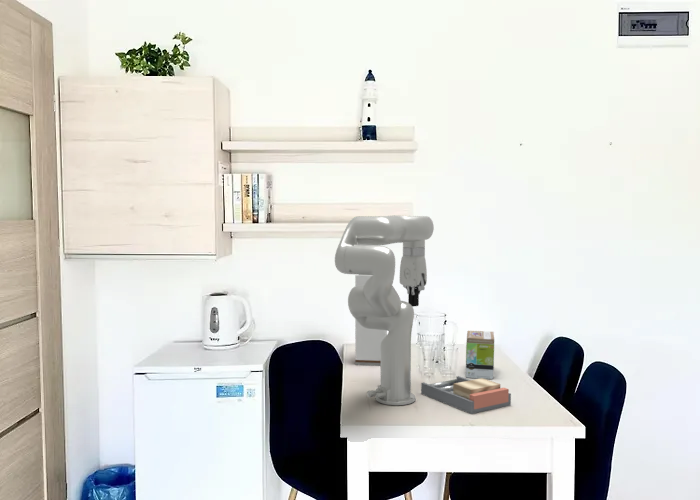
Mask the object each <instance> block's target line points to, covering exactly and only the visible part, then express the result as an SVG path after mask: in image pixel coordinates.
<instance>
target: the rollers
mask: <svg viewBox="0 0 700 500" xmlns="http://www.w3.org/2000/svg"><path fill="white" fill-rule="evenodd" d="M454 383H458V381H457V380H456V379H449V380H444V381H439V382H435V383H434V382H433V383H428V384H429V385H432V386H435V387H437V388H440V389H442V390H445V391H448V392H450V393H453V384H454ZM453 394H454V393H453ZM456 395H457V394H456ZM458 396H460V395H458ZM461 397H462V396H461ZM464 398H465V397H464ZM466 399H468V398H466ZM469 400H470V399H469Z"/></svg>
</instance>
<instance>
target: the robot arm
mask: <svg viewBox="0 0 700 500" xmlns="http://www.w3.org/2000/svg"><path fill="white" fill-rule="evenodd" d="M434 230H435V229H434V221H433V220H432V218H431V217H430V216H427V215H426V216H425V215H408V216H407V215H385V216H384V215H383V216H382V215H380V216H376V215H375V216H369V215H368V216H367V215H366V216H355V217H353V218H351V220H349V222H348V224H347V225H346V227H345V229H344V231H343V233H342V236H341V238H340V240H339V244H338V246H337V248H336V251H335V255H334V266H335V268H336V270H337V271H338V272H340V273H342V274H344V275H373V276H371V277H370V278H369V279H368V281H367V282H366V283H365V285H358V286H354V287H352V288H351V289H350V291H349V293H348V297H347V306H348V309H349V313H350V314H351V315H352V317H353V318H354V320H355V319H356V320H357V321H358V322H359V324H360V325H361V326H363V327H364V328H367V329H378V330H387V331H388V332H387V335H386V337H385V338H384V339H383V340H382V343H381V366H380V385H377V388H376V389H374V390H367V393H366V396H367V397H368V398H372V397H375V400H376V401H377V402H378V403H380V404H383V405H387V406H405V405H410V404H412V403H414V402H416V395H415V394H414V393H412V391H411V390H412V389H411V387H412V386H411V385H412V383H411V382H412V381H411V380H412V379H411V377H412V374H411V371H412V370H411V369H412V368H411V366H412V365H411V363H412V331H413V323H414V319H415V318H414V317H415V311H414V310H415V309H414V307H419V303H420V301H419V300H420V298H419V297H420V296H419V295H420V294H421V292H422V291H425V286H426V285H427V279H428V276H427V273H428V272H427V262H426V240H429V239H430V238H431V237H432V235H433V232H434ZM399 243H400V244H401V243H402V256H401V258H400V259H401V261H400V266H399V284H400V285H402V287H403V288H405V289H406V293H407V295H408V297H407V299H408V302H407V301H404V300H401V298H400V295H399V293H398V292H397V291H396V289H395V287H394V286H393V283H394V279H395V275H396V274H395V273H396V257H395V253H394V252H393V250H392V249H390V248H389V247H388V245H392V244H399Z"/></svg>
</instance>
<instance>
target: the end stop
mask: <svg viewBox="0 0 700 500" xmlns="http://www.w3.org/2000/svg"><path fill="white" fill-rule="evenodd" d="M509 390H510V389H509V388H506V387H500V388H499V389H494V390H489V391H484V392H479V393H474V394H470V400H472V401H474V409H479V408H483V407H488V406H492V405H497V404H501V403H506V402H508V396H509V393H510V392H509Z"/></svg>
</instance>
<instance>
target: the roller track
mask: <svg viewBox="0 0 700 500" xmlns="http://www.w3.org/2000/svg"><path fill="white" fill-rule="evenodd" d="M456 380H457V381H458V383H459V382H464V381H470V380H471V379H469V378H467V377H463V376H461V375H458V376H456ZM429 384H430V383H427V382H421V384H420V388H421V389H420V390H421V395H424V396H426V397H428V398H431V399H434V400H436V401H438V402H441V403H444V404H445V405H448V406H450V407H453V408H455V409H458V410H461V411H463V412H465V413H467V414H471V415H473V414H478V413H482V412H487V411H491V410H495V409H500V408H505V407H508V406H511V405H512V393H510V392H509V396H508V402H506V403H501V404H497V405H492V406H488V407H483V408H479V409H474V401H472V400H469V399H466V398H464V397H461V396H458V395H456V394H453V393H450V392H448V391H445V390H442V389H440V388H437V387H435V386H432V385H429Z"/></svg>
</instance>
